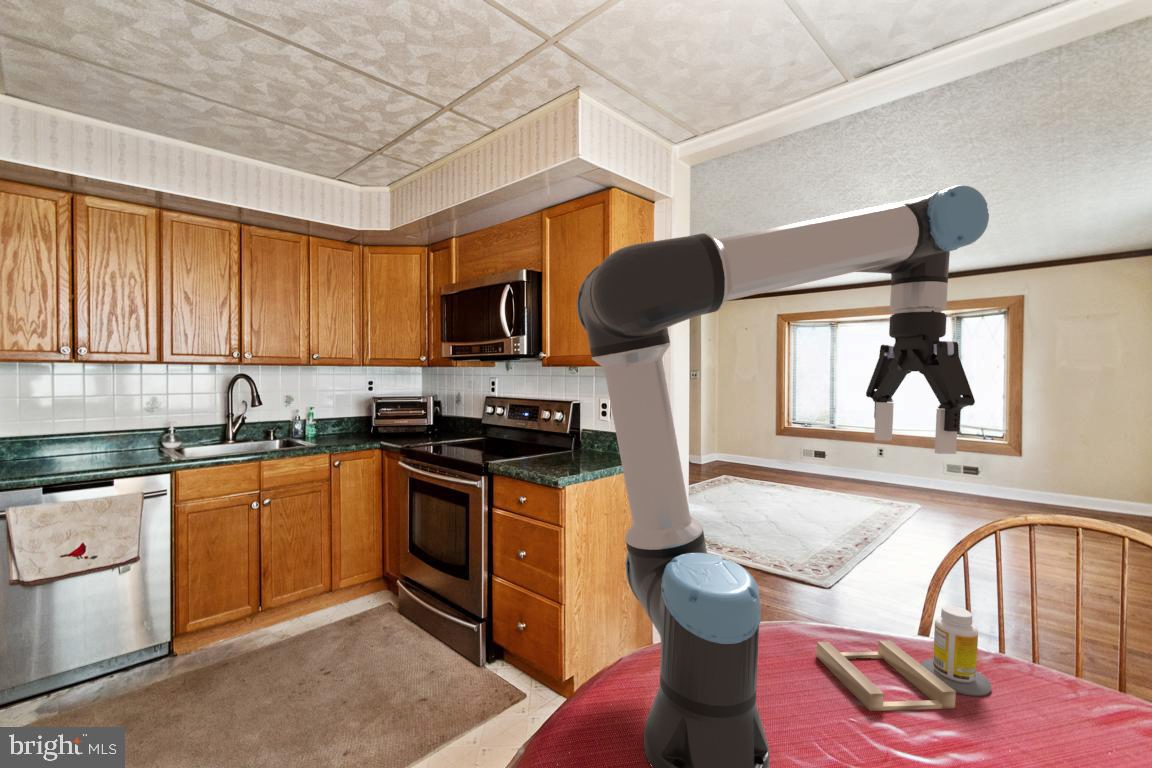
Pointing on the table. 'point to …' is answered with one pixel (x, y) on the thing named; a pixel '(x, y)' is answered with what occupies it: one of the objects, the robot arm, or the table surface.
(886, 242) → the robot arm
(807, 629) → the table surface
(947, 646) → the supplement bottle
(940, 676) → the coaster
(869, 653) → the open wooden frame
